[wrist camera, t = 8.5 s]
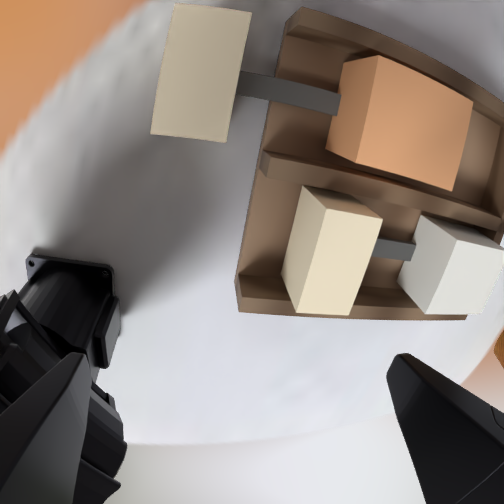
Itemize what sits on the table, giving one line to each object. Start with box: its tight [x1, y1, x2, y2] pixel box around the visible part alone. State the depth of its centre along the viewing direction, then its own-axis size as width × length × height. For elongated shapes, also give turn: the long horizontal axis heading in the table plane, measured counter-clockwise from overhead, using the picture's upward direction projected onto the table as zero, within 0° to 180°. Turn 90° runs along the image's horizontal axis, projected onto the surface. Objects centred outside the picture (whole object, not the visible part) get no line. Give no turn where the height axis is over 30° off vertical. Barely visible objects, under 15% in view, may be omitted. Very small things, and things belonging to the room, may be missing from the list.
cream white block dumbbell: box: [281, 185, 504, 315], centre depth 18 cm, size 14×6×4 cm, turn 79°
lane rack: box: [234, 7, 504, 320], centre depth 18 cm, size 18×16×3 cm
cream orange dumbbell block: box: [150, 3, 473, 191], centre depth 14 cm, size 14×6×4 cm, turn 79°
